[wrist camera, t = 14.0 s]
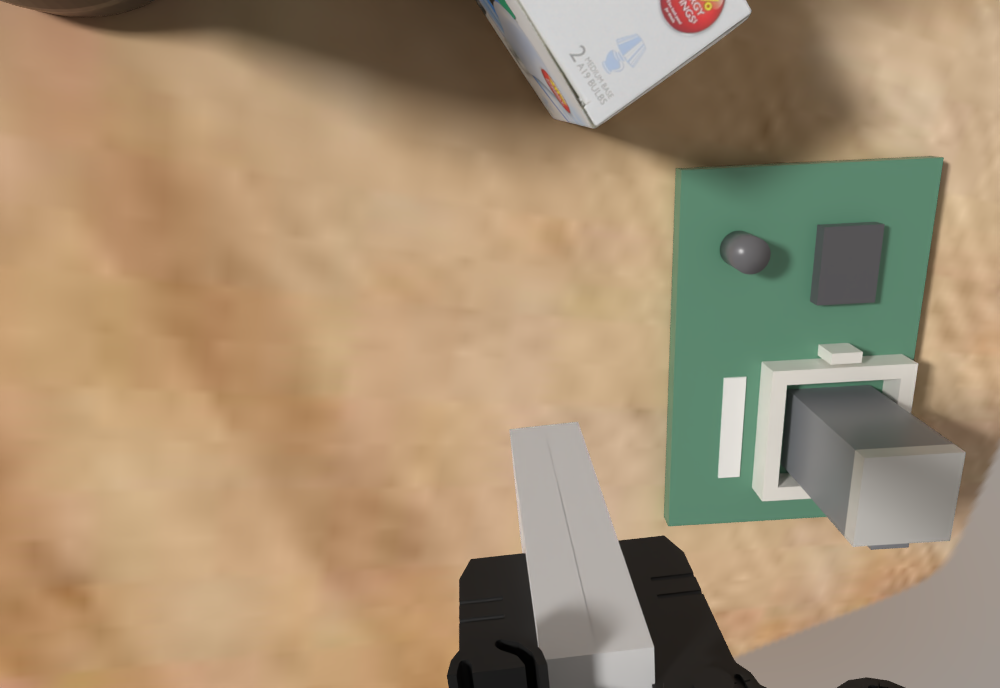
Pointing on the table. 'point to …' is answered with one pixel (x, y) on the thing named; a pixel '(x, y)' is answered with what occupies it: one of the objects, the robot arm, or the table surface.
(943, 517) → the block
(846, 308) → the board
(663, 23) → the light bulb box
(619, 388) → the table surface
